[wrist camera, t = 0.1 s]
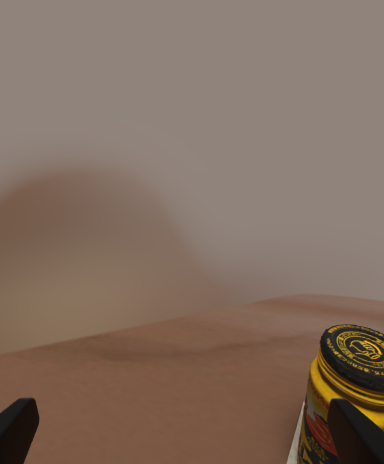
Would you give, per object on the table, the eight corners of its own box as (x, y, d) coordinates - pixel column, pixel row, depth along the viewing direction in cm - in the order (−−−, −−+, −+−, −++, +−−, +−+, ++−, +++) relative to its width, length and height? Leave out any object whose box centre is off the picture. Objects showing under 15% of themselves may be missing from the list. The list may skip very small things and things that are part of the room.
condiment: (279, 489, 20) (298, 357, 16) (303, 401, 27) (320, 295, 23) (402, 569, 16) (462, 421, 12) (394, 443, 23) (431, 324, 19)
